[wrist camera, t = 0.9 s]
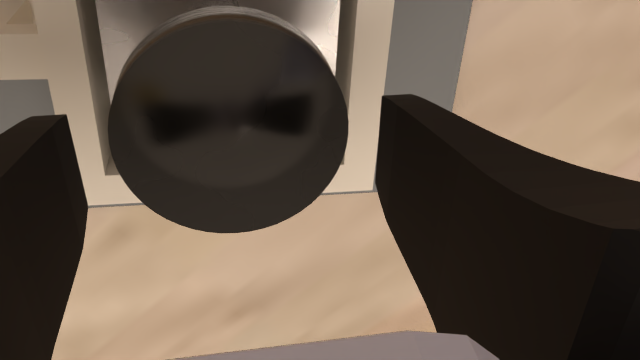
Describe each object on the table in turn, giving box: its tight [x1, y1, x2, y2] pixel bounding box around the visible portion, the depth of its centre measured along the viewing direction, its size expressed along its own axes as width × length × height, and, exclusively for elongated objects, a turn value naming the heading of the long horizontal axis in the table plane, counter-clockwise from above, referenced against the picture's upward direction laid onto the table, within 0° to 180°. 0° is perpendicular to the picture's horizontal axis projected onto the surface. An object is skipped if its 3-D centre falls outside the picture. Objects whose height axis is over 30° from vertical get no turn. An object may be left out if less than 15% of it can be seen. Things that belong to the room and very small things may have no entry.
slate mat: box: [0, 0, 473, 208], centre depth 20 cm, size 18×16×1 cm
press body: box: [0, 0, 395, 206], centre depth 18 cm, size 11×9×5 cm
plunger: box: [95, 0, 349, 233], centre depth 14 cm, size 6×6×6 cm
